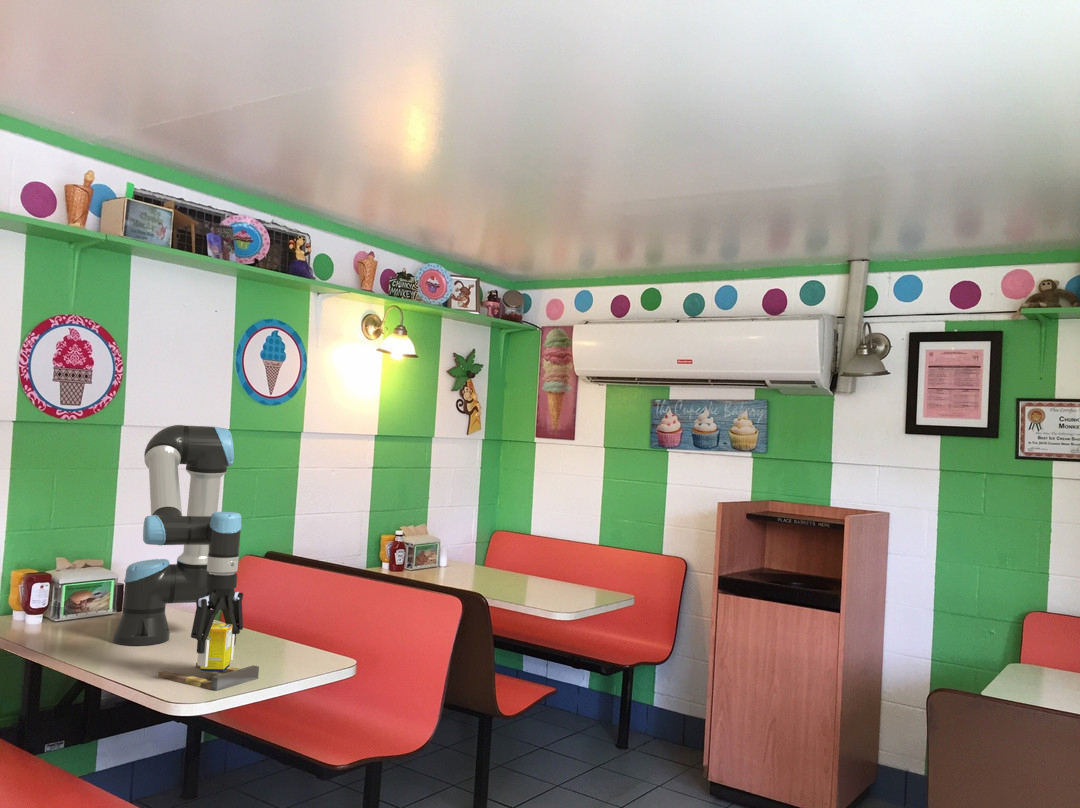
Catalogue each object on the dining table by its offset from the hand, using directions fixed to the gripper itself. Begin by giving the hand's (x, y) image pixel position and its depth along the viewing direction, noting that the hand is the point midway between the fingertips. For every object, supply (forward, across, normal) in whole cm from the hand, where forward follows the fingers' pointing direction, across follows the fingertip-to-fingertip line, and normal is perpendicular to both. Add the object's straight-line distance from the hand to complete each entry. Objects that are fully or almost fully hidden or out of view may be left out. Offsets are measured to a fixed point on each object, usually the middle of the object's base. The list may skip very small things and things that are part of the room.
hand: (215, 662), depth 218 cm
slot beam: (+4, 0, +3) cm, 5 cm away
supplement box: (+2, 0, 0) cm, 2 cm away
